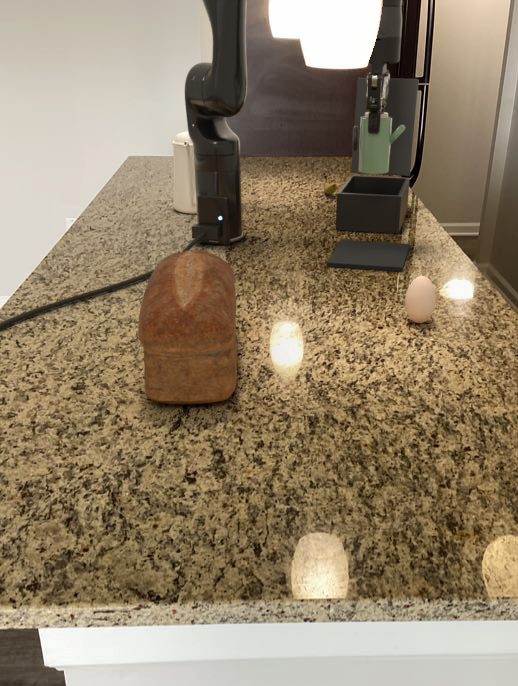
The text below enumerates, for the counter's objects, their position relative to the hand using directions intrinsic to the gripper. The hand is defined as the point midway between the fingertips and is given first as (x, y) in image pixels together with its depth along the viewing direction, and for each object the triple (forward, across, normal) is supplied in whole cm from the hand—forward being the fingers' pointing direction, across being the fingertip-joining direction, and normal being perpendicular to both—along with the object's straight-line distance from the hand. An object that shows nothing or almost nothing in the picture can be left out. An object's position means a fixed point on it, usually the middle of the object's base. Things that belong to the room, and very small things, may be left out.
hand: (375, 130), depth 152 cm
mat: (+21, +12, +1) cm, 24 cm away
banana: (+22, -40, -15) cm, 48 cm away
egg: (+22, +45, +13) cm, 51 cm away
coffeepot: (+22, -18, -43) cm, 52 cm away
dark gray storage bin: (+21, -16, -1) cm, 27 cm away
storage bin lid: (+3, -28, -1) cm, 29 cm away
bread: (+22, +66, -17) cm, 72 cm away
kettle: (+8, 0, 0) cm, 8 cm away
